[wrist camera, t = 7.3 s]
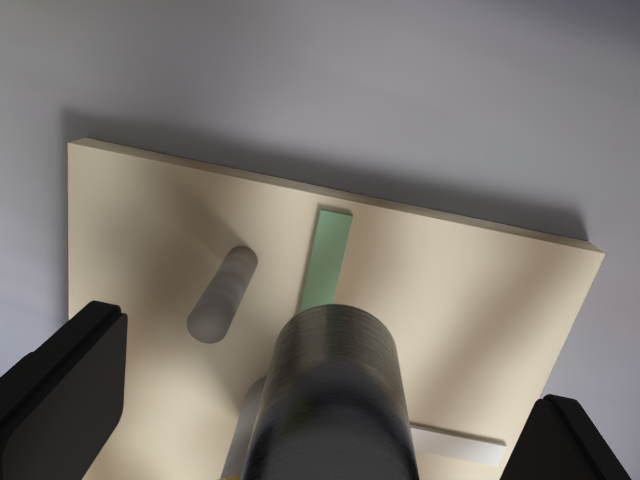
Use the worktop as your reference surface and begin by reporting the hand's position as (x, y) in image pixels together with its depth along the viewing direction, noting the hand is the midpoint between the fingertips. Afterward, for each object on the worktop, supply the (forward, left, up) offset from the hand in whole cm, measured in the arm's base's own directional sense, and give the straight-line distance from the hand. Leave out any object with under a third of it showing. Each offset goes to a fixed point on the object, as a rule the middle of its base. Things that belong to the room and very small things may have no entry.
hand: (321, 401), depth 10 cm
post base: (0, +7, -9) cm, 12 cm away
